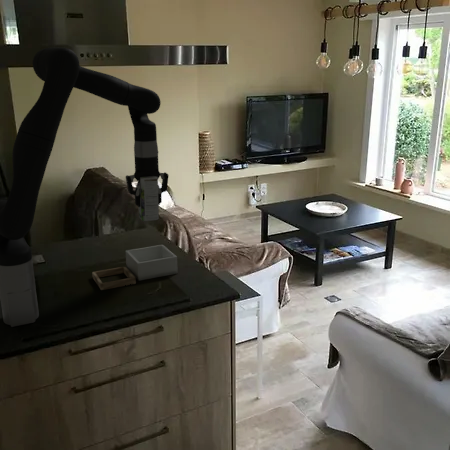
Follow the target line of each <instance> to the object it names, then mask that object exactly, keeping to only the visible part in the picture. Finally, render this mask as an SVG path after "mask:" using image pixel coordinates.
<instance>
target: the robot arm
mask: <svg viewBox="0 0 450 450" xmlns="http://www.w3.org/2000/svg"><path fill="white" fill-rule="evenodd" d="M32 68H33V69H32V70H33V72H34V73H35V75H36V76H37V77H38V79H40V80H41V81H43V82H44V83H43V86H42V90H41V92H40V95H39V96H38V99H37V100H36V101H35V103H34V105H33V106H32V107H31V109H30V110H29V111H28V112H27V113H26V115H25V116H24V118H23V120H22V121H21V123H20V125H19V126H18V127H19V128H18V131H17V134H16V136H15V139H14V142H13V143H14V144H13V147H12V155H11V156H12V157H11V158H12V184H11V188H10V191H9V194H8V197H7V199H0V306H1V311H2V320H3V323H4V324H5V325H9V326H10V327H11V328H13V327H18V326H23V325H24V326H25V325H29V324H32V323H35V322H36V320H37V319H39V317H40V313H39V303H38V297H37V290H36V289H37V287H36V279H35V272H34V263H33V255H32V248H31V246H30V245H28V242H27V241H26V239H25V237H26V236H27V234H28V233H29V232H30V231H31V228H32V226H33V222H34V219H35V213H36V208H37V204H38V203H37V202H38V198H39V193H40V189H41V186H42V183H43V181H44V180H43V179H44V177H45V173H46V169H47V165H48V163H49V159H50V157H51V154H52V151H53V149H54V148H53V147H54V144H55V142H56V137H57V133H58V131H59V127H60V124H61V121H62V117H63V115H64V112H65V108H66V105H67V103H68V101H69V98H70V97H71V94H72V91H73V89H74V88H75V89H77V90H80V91H84V92H86V93H88V94H91V95H93V96H97V97H99V98H101V99H104V100H106V101H109V102H111V103H114V104H116V105H121V106H125V107H127V109H128V113H129V116H130V120H131V123H132V126H133V138H134V141H133V144H134V145H133V151H134V152H133V156H134V173H133V174H131V175H125V181H126V186H127V187H126V188H127V190H128V193H129V194H130V195H131V196H134V203H135V206H136V207H138V208H139V207H140V196H139V194H140V185H139V183H140V177H146V176H151V177H154V176H156V177H158V179H161V187H160V186H159V184H158V204H159V206H160V205H161V203H162V193H165V192H167V191H168V184H169V174H168V173H167V172H160V170H159V169H160V168H159V148H158V147H159V146H158V138H157V137H158V136H157V135H158V134H157V124H156V123H155V122H154V121H152V120H150V118H149V116H148V114H149V115H151V114H154V113H156V112H158V110H160V108H161V103H162V101H161V98H160V95H159V94H158V93H157V92H155V91H154V90H151V89H149V88H146V87H143V86H139V85H136V84H132V83H129V82H128V81H126V80H124V79H121V78H119V77H116V76H113V75H110V74H108V73H103V72H101V71H97V70H93V69H89V68H86V67H84V66H82V65H80V60H79V58H78V55H77V53H75V51H74V50H72V49H70V48H67V47H45V48H42V49H40V50H38V51H37V52H36V53H35V55H34V56H33V60H32ZM134 180H136V181H137V183H136V185H135V189H134V188H133V187H134V186H133V182H134Z"/></svg>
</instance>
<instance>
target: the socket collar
mask: <svg viewBox="0 0 450 450" xmlns="http://www.w3.org/2000/svg"><path fill="white" fill-rule="evenodd" d="M120 274H121V275H122V274H124V275H125V276H126V277H127V278H123V279H117V280H112V281H105V282H103V281H102V280H101V279H100V278H104V277H109V276H115V275H120ZM91 275H92V279H93V280H94V282H95V283H96V285H97V287H98V288H99V289H100V291H105V290H111V289H116V288H120V287H125V285H126V286H130V284H131V285H135V284H136V283H137V281H136V280H137V278H136V277H135V276H134V275H133V274H132V272H131V271H130V270H129V269H128V268H127V266H126V265H125V266H119V267H114V268H108V269H107V268H106V269H101V270H97V271H92V273H91Z"/></svg>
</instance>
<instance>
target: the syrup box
mask: <svg viewBox="0 0 450 450" xmlns="http://www.w3.org/2000/svg"><path fill="white" fill-rule="evenodd" d="M139 185H140V194H139V196H140V207H138V218H139V219H140V220H141V221H142V222H150V221H157V220H158V221H159V219H160V217H159V216H160V213H159V212H160V211H159V210H160V209H159V206H160V205H159V204H158V185H159V178H158V177H156V176H154V177H151V176H146V177H140V183H139Z"/></svg>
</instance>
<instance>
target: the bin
mask: <svg viewBox="0 0 450 450" xmlns="http://www.w3.org/2000/svg"><path fill="white" fill-rule="evenodd" d="M125 263H126V265H125V267H126V268H127V269H128V270H129V271H130V272H131V273H132V274H133V276H134V277H135V278H136V280H137V281H144V280H149V279H154V278H160V277H161V278H162V277H165V276H170V275H176V274H177V275H178V272H179V271H178V270H179V269H178V256H177V255H176V254H175V253H173V252H172V251H171V250H170V249H168V247H167V246H165V245H164V244H158V245H157V244H156V245H152V246H151V245H150V246H147V247H141V248H133V249H132V248H131V249H126V250H125Z"/></svg>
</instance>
